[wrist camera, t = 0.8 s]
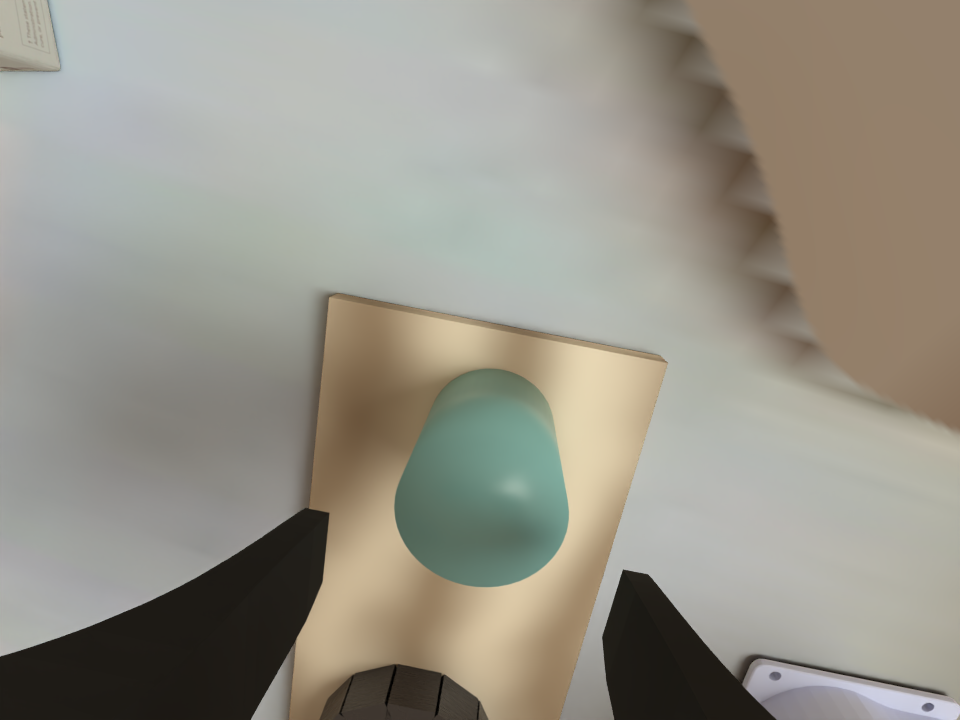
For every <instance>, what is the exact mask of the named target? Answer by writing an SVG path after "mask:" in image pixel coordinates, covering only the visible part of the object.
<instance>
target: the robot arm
mask: <svg viewBox="0 0 960 720" xmlns="http://www.w3.org/2000/svg"><path fill="white" fill-rule="evenodd" d="M329 514H330V513H329V512H324V511H318V510H313V509H308V508H304V509H303V510H301V511H300V512H298V513H297V514H295V515H294V516H292V517H291V518H289V519H288V520H286V521H285V522H283V523H282V524H281V525H279V526H278V527H276V528H275V529H273V530H272V531H270V532H269V533H267V534H266V535H264V536H263V537H262V538H260V539H259V540H257V541H255V542H254V543H252V544H251V545H249V546H248V547H246V548H245V549H243V550H242V551H240V552H239V553H237V554H235V555H234V556H232V557H231V558H229V559H227V560H226V561H224V562H222V563H221V564H219V565H217V566H216V567H214V568H212V569H210V570H209V571H207V572H205V573H204V574H202V575H200V576H198V577H197V578H195V579H193V580H191V581H189V582H187V583H185V584H184V585H182V586H180V587H178V588H176V589H174V590H172V591H170V592H168V593H166V594H164V595H162V596H159V597H157V598H155V599H153V600H151V601H149V602H147V603H145V604H142V605H140V606H138V607H135V608H133V609H131V610H128V611H126V612H123V613H121V614H119V615H116V616H114V617H112V618H109V619H107V620H104V621H102V622H100V623H97V624H95V625H92V626H90V627H87V628H84V629H82V630H79V631H76V632H73V633H71V634H68V635H65V636H62V637H60V638H57V639H54V640H51V641H48V642H45V643H42V644H39V645H36V646H33V647H30V648H27V649H24V650H21V651H17V652H14V653H11V654H8V655H4V656H1V657H0V720H251V718H252V716H253V714H254V713H255V711H256V709H257V707H258V705H259V704H260V702H261V700H262V698H263V697H264V695H265V693H266V691H267V690H268V688H269V686H270V684H271V683H272V681H273V679H274V677H275V676H276V674H277V672H278V670H279V669H280V667H281V665H282V663H283V662H284V660H285V658H286V656H287V655H288V653H289V651H290V649H291V648H292V646H293V644H294V642H295V640H296V639H297V637H298V635H299V633H300V632H301V630H302V628H303V626H304V624H305V622H306V620H307V618H308V616H309V613H310V611H311V609H312V606H313V604H314V602H315V599H316V597H317V595H318V592H319V590H320V587H321V585H322V583H323V574H324V564H325V554H326V544H327V534H328V524H329ZM602 639H603V650H604V662H605V671H606V681H607V686H608V691H609V696H610V701H611V705H612V710H613V715H614V719H615V720H956V719H957V717H958V716H959V714H960V706H959V705H958V704H957V702H956V701H955V700H954V699H953V698H951V697H948V696H944V695H939V694H934V693H929V692H924V691H919V690H914V689H909V688H904V687H899V686H894V685H890V684H885V683H880V682H875V681H870V680H865V679H860V678H855V677H850V676H845V675H840V674H835V673H831V672H826V671H821V670H816V669H811V668H806V667H801V666H796V665H791V664H786V663H781V662H777V661H772V660H767V659H757V660H755V661H753V662H752V663H751V665H750V667H749V669H748V671H747V674H746V676H745V678H744V681H743V683H742V684H741V683H740V682H739V681H738V680H737V679H736V678H735V677H734V676H733V675H732V674H731V672H730V671H729V670H728V669H727V668H726V667H725V666H724V665H723V664H722V663H721V662H720V660H719V659H718V658H717V657H716V656H715V655H714V654H713V652H712V651H711V650H710V649H709V648H708V647H707V645H706V644H705V643H704V642H703V641H702V640H701V638H700V637H699V636H698V635H697V634H696V632H695V631H694V630H693V629H692V628H691V626H690V625H689V624H688V623H687V621H686V620H685V619H684V618H683V617H682V615H681V614H680V613H679V612H678V610H677V609H676V608H675V607H674V605H673V604H672V603H671V602H670V600H669V599H668V598H667V597H666V595H665V594H664V593H663V592H662V590H661V589H660V588H659V587H658V585H657V584H656V583H655V582H654V581H653V579H652V578H651V577H650V576H649V575H648V574H643V573H638V572H633V571H628V570H623V571H622V575H621V578H620V581H619V584H618V588H617V591H616V594H615V597H614V601H613V604H612V607H611V610H610V614H609V617H608V620H607V623H606V627H605V630H604V633H603V636H602ZM772 672H773V673H772Z"/></svg>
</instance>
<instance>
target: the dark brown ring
mask: <svg viewBox="0 0 960 720" xmlns="http://www.w3.org/2000/svg"><path fill="white" fill-rule="evenodd" d="M441 674H442V673H440V672H435V671H430V670H425V669H421V668H416V667H411V666H406V665H401V664H398V666H397V667H396V665H395V664H393V665H388V666H384V667H379V668H375V669H371V670H366V671H362V672H358V673H355V675H352V676H351V677H350V678H348V679H347V680H346V681H345V682H344V683H343V684H342V685H341V686H340V687H339V688H338V689H337V690H336V691H335V692H334V693H333V694H332V695H331V696H330V697H329V698H328V700H327V701H326V704H325V707H324V709H323V712H322V714H321V717H320V719H319V720H488V717H487V715H486V713H485V711H484V708H483V706H482V704H481V702H480V701H478V698H477V697H476V696H474V695H473V694H471V693H470V692H469V691H467V690H466V689H464V688H463V687H462V686H460V685H459V684H458V683H456V682H455V681H453V680H452V679H451V678H449V677H448V676H446V675H445V674H444V675H443V676H442V677H441Z"/></svg>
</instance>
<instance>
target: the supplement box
mask: <svg viewBox="0 0 960 720" xmlns="http://www.w3.org/2000/svg"><path fill="white" fill-rule="evenodd" d="M59 70H60V62H59V57H58V52H57V47H56V43H55V38H54V33H53V28H52V23H51V18H50V12H49V7H48V2H47V0H0V71H59Z"/></svg>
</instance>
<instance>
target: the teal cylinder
mask: <svg viewBox="0 0 960 720" xmlns="http://www.w3.org/2000/svg"><path fill="white" fill-rule="evenodd" d="M394 512H395V520H396V524H397V528H398V531H399V533H400V536H401V538H402V540H403V542H404V544H405V545H406V547H407V548H408V550H409V551H410V552H411V554H412V555H413V556H414V557H415V558H416V559H417V560H418V561H419V562H420V563H421V564H422V565H424V566H425V567H426V568H427V569H429V570H430V571H432V572H433V573H435V574H437V575H439V576H440V577H442V578H444V579H447V580H449V581H452V582H455V583H458V584H462V585H466V586H473V587H499V586H504V585H509V584H512V583H516V582H519V581H521V580H523V579H526V578H528V577H530V576H531V575H533V574H535V573H536V572H538V571H539V570H540V569H542V568H543V567H544V566H545V565H547V563H548V562H549V561H550V560H551V559H552V558H553V557H554V556H555V554H556V553H557V552H558V550H559V548H560V546H561V545H562V543H563V541H564V538H565V535H566V532H567V528H568V522H569V507H568V499H567V493H566V488H565V482H564V477H563V471H562V465H561V460H560V454H559V448H558V443H557V437H556V431H555V426H554V420H553V415H552V412H551V409H550V406H549V404H548V402H547V400H546V399H545V397H544V395H543V394H542V393H541V392H540V390H539V389H538V388H537V387H536V386H535V385H534V384H532V383H531V382H530V381H528V380H527V379H525V378H523V377H522V376H520V375H518V374H515V373H513V372H510V371H506V370H501V369H479V370H474V371H470V372H468V373H465V374H462V375H460V376H459V377H457V378H455V379H454V380H452V381H451V382H450V383H448V384H447V385H446V386H445V387H444V388H443V389H442V391H441V392H440V393H439V394H438V396H437V398H436V399H435V401H434V403H433V406H432V408H431V410H430V412H429V415H428V417H427V419H426V422H425V424H424V426H423V428H422V431H421V433H420V435H419V438H418V440H417V442H416V444H415V447H414V449H413V451H412V454H411V456H410V458H409V460H408V463H407V465H406V467H405V470H404V472H403V474H402V476H401V479H400V481H399V484H398V486H397V490H396V494H395V502H394Z"/></svg>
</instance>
